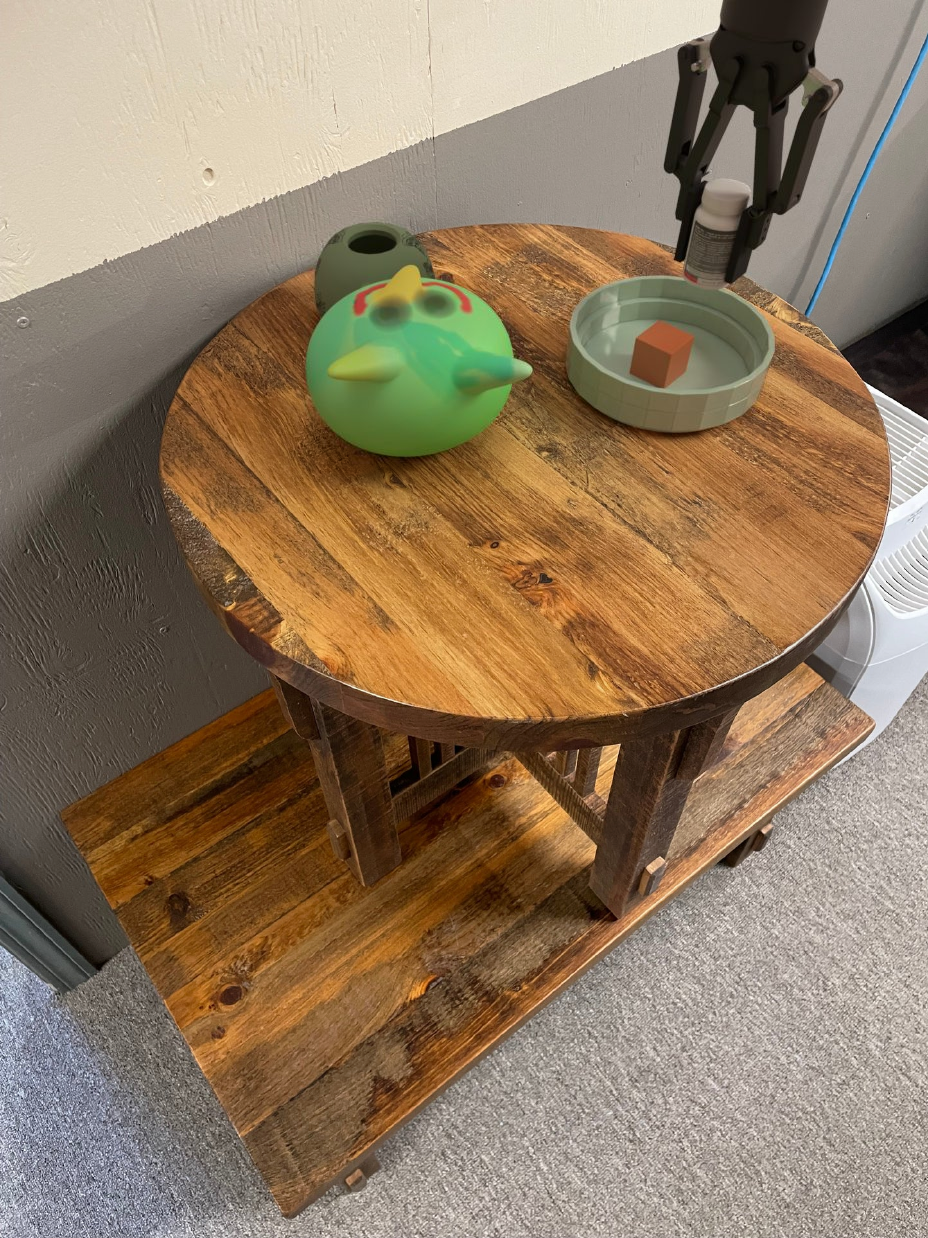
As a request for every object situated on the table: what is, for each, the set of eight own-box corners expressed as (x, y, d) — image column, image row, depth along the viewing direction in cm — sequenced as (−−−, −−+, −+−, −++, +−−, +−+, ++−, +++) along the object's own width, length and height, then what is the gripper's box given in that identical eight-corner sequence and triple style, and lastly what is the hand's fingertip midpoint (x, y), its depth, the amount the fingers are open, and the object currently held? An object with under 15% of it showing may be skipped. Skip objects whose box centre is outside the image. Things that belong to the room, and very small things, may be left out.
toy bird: (487, 368, 86) (492, 225, 75) (532, 482, 76) (546, 336, 65) (307, 392, 84) (283, 247, 72) (329, 513, 74) (305, 368, 62)
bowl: (795, 369, 86) (811, 325, 82) (692, 467, 78) (704, 423, 74) (636, 297, 94) (644, 254, 90) (525, 379, 85) (529, 334, 81)
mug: (325, 282, 96) (315, 204, 89) (441, 285, 96) (440, 207, 89) (304, 370, 86) (291, 291, 79) (434, 373, 86) (432, 294, 79)
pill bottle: (736, 291, 80) (761, 202, 74) (685, 291, 80) (705, 202, 74) (727, 264, 83) (750, 175, 77) (678, 263, 83) (697, 175, 77)
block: (685, 371, 85) (694, 335, 82) (663, 390, 83) (671, 354, 80) (652, 354, 86) (659, 319, 83) (629, 373, 85) (635, 337, 81)
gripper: (651, -50, 64) (608, 248, 83) (876, 8, 57) (774, 320, 76) (705, -72, 68) (652, 218, 86) (923, -20, 61) (815, 284, 79)
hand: (709, 265), depth 81 cm, fingers closed on pill bottle, 5 cm apart
